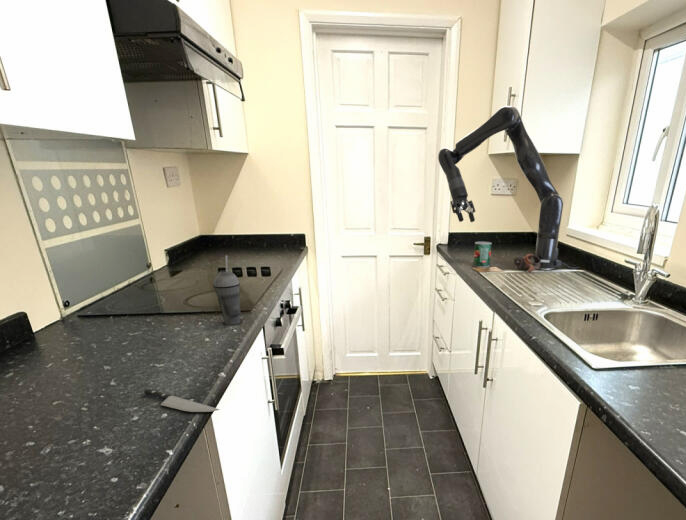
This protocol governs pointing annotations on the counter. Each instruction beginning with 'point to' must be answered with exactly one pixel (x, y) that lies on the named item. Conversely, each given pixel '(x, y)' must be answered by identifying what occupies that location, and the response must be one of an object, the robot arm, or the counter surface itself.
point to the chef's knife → (180, 402)
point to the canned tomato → (482, 254)
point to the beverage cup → (228, 295)
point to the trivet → (487, 269)
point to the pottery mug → (527, 262)
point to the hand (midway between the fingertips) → (467, 221)
